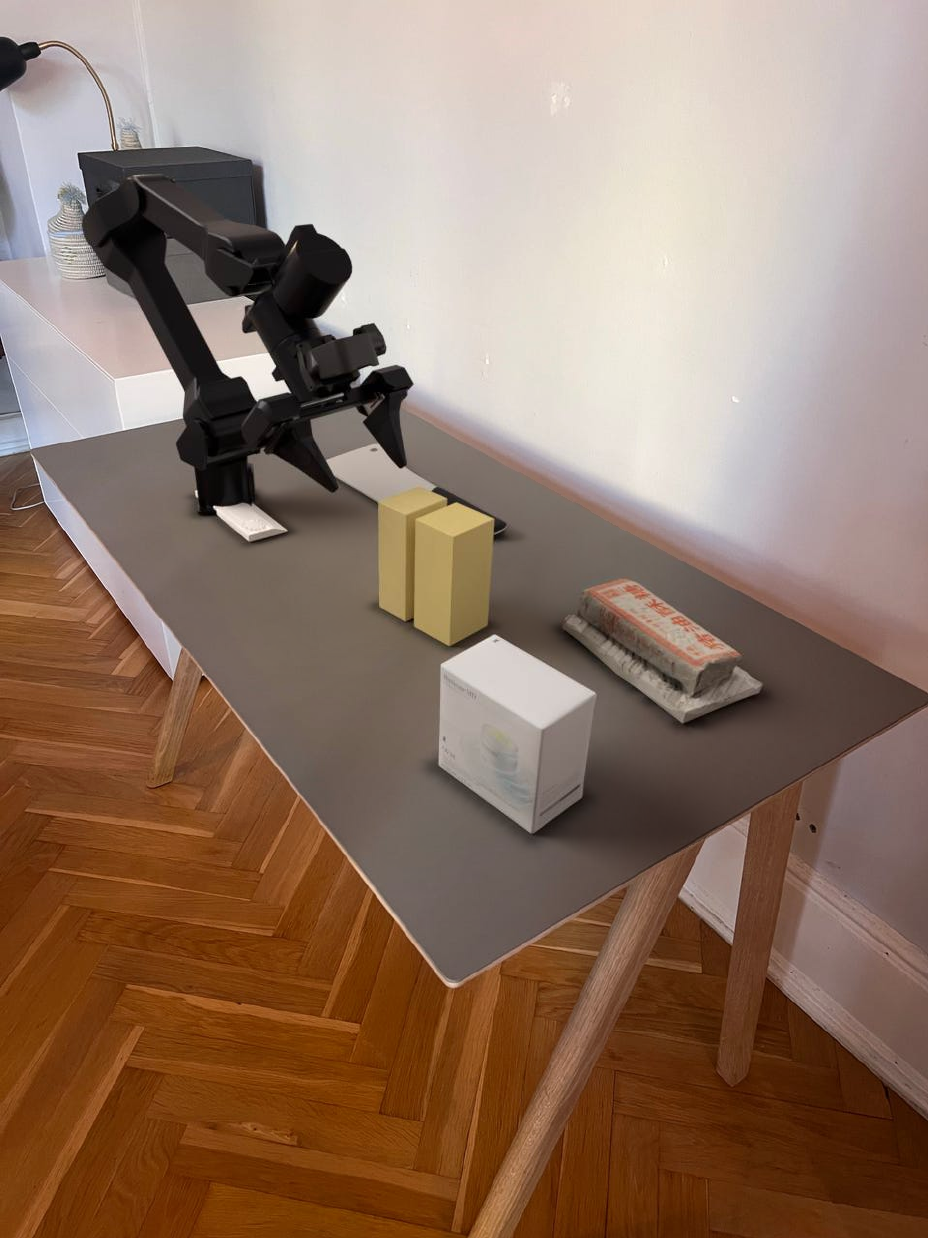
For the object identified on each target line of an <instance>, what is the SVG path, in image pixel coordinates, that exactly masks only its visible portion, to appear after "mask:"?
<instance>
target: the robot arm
mask: <svg viewBox="0 0 928 1238" xmlns="http://www.w3.org/2000/svg"><path fill="white" fill-rule="evenodd" d="M81 228H82V233H83V237H84V239H85V241H86V243H87V244H88V245H89V247H91V249H92V251H93V252H94V254H95V255H96V257H97V258H98V260H99V262H100V263H101V264H102V266H103V268H105V269H106V270H108V271H109V272H111V273H112V274H113V275H116V277H118V278H119V279H120V280H122V281H124V282H125V283H127V285H128V287H129V288H130V290H131V292H132V294H133V295H134V297H135V300H136V301H137V304H138V306H139V307H140V309H141V311H142V313H143V315H144V317H145V320H146V321H147V322H148V324H149V327H150V328H151V330H152V332H153V335H154V336H155V338H156V340H157V342H158V343H159V346H160V347H161V349H162V351H163V353H164V355H165V357H166V359H167V361H168V362H169V365H170V366H171V369H172V370H173V372H174V375H175V377H176V378H177V380H178V382H179V384H180V385H181V387H182V390H183V392H184V397H183V406H182V419H183V421H184V424H185V428H184V429H183V431H182V432H181V434H180V436H178V439H177V440H176V442H175V446H176V450H177V453H178V457H179V460H180V461H181V462H183V463H186V464H187V465H189V466H191V467H193V469H194V476H195V484H196V485H195V486H196V490H197V494H198V498H197V500H198V502H197V508H196V512H197V514H198V515H217V513H216V512H217V511H216V510H215V509H214V508H213V506H219V507H221V506H222V507H225V506H233V505H237V504H240V503H246V504H249V505H250V506H251V507H252V503H255V502H256V496H257V491H256V480H255V478H256V477H255V467H254V464H253V463H252V462H249V457H250V456H253V455H260V454H261V451H262V449H263V453H264V454H265V455H266V456H267V455H268V456H270V455H274V456H276V457H278V458H279V459H281V460H283V461H284V462H286V463H288V464H289V465H291V466H293V467H294V468H296V469H297V470H299V471H300V472H302V473H303V474H305V475H306V476H308V477H309V478H310V479H311V480H313V481H314V482H316V483H317V484H318V485H319V486H321V487H322V488H324V489H325V490H327V491H328V492H330V493H331V494H335V493H336V492H337V491H338V490H339V484H338V482H337V481H338V480H337V478H336V477H335V476H334V474H333V472H332V470H331V469H330V467H329V465H328V463H327V462H326V460H327V459H326V457H324V453H322V451H321V449H320V447H319V446H318V444H317V441H315V438H314V434H313V428H312V421H313V420H316V419H318V418H323V417H326V416H329V415H333V414H336V413H340V412H343V411H346V410H351V409H354V408H356V410H357V412H358V413H359V414H361V415H363V416H365V418H364V420H363V421H362V424H363V426H365V428H366V430H368V432H369V433H370V434H371V436H372V437H373V439H374V440H375V441H376V442H377V444H379V445H380V446H381V447H382V449H383V450H384V451H385V452H386V454H387V455H388V456H389V458H390V459H391V460H392V461H393V462H394V463H395V464H396V465H397V467H398V468H400V469H401V468H404V467H406V466H407V464H408V460H407V456H406V455H407V454H406V448H405V444H404V438H403V433H402V427H401V415H400V414H401V413H400V412H401V406H402V402H403V401H404V400H405V399H406V398H407V397H408V393H409V392H408V391H409V390H410V389H411V388H412V387H413V386H414V385H415V384H414V381H413V380H412V378H411V376H410V373H408V371H407V369H406V367H405V366H401V365H398V364H393V365H389V366H386V367H385V366H384V367H382V368H381V367H380V368H377V369H373V370H372V371H371V372H370V373H369V374H368V375H367V376H366V378H365V379H364V380H363V381H362V382H361V383H360V385H359V386H355V387H352V385H351V384H352V383H355V382H357V380H358V379H359V378H360V377H361V376H362V374H361V372H360V370H362V369H365V368H369V367H377V366H379V365H380V361H379V358H378V357H380V356H383V355H385V354H386V353H387V350H388V349H387V348H388V347H387V344H386V341H385V337H384V335H383V334H382V332H381V331H380V329H379V328H378V326H377V325H376V324H375V322H371V323H367V324H362V325H360V326H359V327H355V328H353V330H352V335H350V336H349V335H348V336H345V337H341V338H336V337H335V336H334V335H333V334H332V333H329V334H325V335H324V334H323V333H322V331H321V329H320V328H319V326H318V324H317V323H316V321H315V319H318V318H320V317H322V316H323V315H324V314H325V313H326V312H327V311H328V309H329V308H330V306H331V304H333V302H334V301H335V299H336V298H337V297H338V295H339V294H340V292H341V290H342V289H343V288H344V287H345V285H346V283H348V282H349V280H350V278H351V276H352V274H353V264H352V259H351V257H350V255H349V253H348V251H347V250H346V249H345V248H343V247H342V246H341V245H340V244H338V243H337V242H336V241H335V240H334V239H333V238H330V237H329V236H327V235H324V234H323V233H319V232H318V231H317V229H316V228H315V226H314V224H313V223H306V224H305V223H304V224H296V225H294V227H293V229H292V230H291V231H290V234H289V237H288V240H287V242H286V243H285V241H284V240H283V239H282V237H281V236H280V235H279V234H278V233H277V232H275V231H273V230H270V229H267V228H265V227H261V226H258V225H255V224H248V223H242V222H236V221H232V220H230V219H228V218H226V217H224V216H223V215H222V214H220V213H219V212H217V211H216V210H214V209H213V208H211V207H210V206H208V205H207V204H205V203H204V202H202V201H201V200H199V199H197V198H196V197H195V196H193V195H192V194H190V193H189V192H187V191H185V190H184V189H183V188H181V187H180V186H178V185H177V184H176V181H174V179H173V178H171V176H168V175H165V174H162V173H151V174H137V175H135V174H134V175H130V176H129V177H128V178H125V179H124V180H123V181H122V182H121V183H120V185H119V186H118V187H117V188H114V190H111V191H110V192H107V193H106V194H104V195H103V196H101V197H99V198H97V199H96V200H94V201H93V203H91V204H90V205H89V206H88V207H87V211H86V212H85V214H84V215H83V216H82V219H81ZM167 235H168V236H169V237H171V238H172V239H173V240H175V241H177V242H178V243H179V244H181V245H182V246H184V247H185V248H186V249H188V250H189V251H191V252H192V253H193V254H195V255H196V256H197V257H199V258H200V259H201V261H203V265H204V274H205V275H206V277H207V278H208V279H210V281H212V283H213V284H215V286H216V287H217V288H218V289H219V290H220V291H221V292H222V293H223V294H224V295H226V296H228V297H230V298H234V297H240V296H241V297H242V296H246V295H247V296H248V295H253V294H258V295H257V296H256V298H255V299H254V301H253V302H252V303H251V304H247V305H245V306H244V315H243V318H242V321H241V331H242V333H243V334H250V333H257V335H258V337H259V339H260V341H261V342H262V344H263V346H264V348H265V349H266V351H267V353H268V355H269V357H270V358H271V360H272V362H273V364H274V365H275V368H274V369H273V370H272V371H271V376H272V377H273V379H274V381H275V382H276V383H278V382H281V381H283V382H284V383H285V385H286V387H287V388H288V391H289V392H288V391H287V392H283V393H278V394H274V395H271V396H267V397H263V398H259V399H258V400H257V399H256V398H255V397H254V395H253V393H252V391H251V389H250V386H249V383H248V381H246V379H245V378H244V377H243V376H241V375H239V376H235V377H230V376H229V375H227V374H226V373H224V372H223V371H222V369H221V368H220V365H219V364H218V361H217V359H216V358H215V355H213V352H212V350H211V348H210V346H209V344H208V343H207V341H206V339H205V337H204V335H203V333H202V331H201V329H200V327H199V325H198V324H197V321H196V319H195V317H194V316H193V313H192V312H191V311H190V308H189V306H188V304H187V302H186V300H185V299H184V296H183V295H182V293H181V291H180V289H179V287H178V286H177V283H176V281H175V280H174V278H173V275H172V274H171V272H170V270H169V268H168V266H167V264H166V258H167V248H168V236H167ZM311 420H312V421H311Z"/></svg>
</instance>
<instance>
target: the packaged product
mask: <svg viewBox="0 0 928 1238" xmlns="http://www.w3.org/2000/svg"><path fill="white" fill-rule="evenodd" d="M579 600H580V603H579V606H578V609H577V612H576V613H574V614H567V616H566V617H565V618H564V621H563V625H562V629H563V630H564V631H565V632H567V633H568V634H569V635H571V636H572V637H573V638H574V639H576V640H577V641H578V642H580V643H581V644H582V645H583V646H585V648H587V649H588V650H589V651H590V652H591V653H592V654H593V655H594V656H595V657H597V658H598V659H599V660H601V662H602V663H604V664H605V665H606V666H607V667H608V668H609V669H610V670H611V671H612V672H613V673H614V674H615V675H617V676H618V677H620V678H622V679H623V680H624V681H626V682H628V683H629V684H631V685H632V686H633V687H635V688H636V689H638V690H639V691H640V692H641V693H643V694H644V695H645V696H647V697H648V698H649V699H650V700H651V701H652V702H654V703H656V704H657V705H658V706H659V707H661V709H663V710H664V711H666V712H667V713H668V714H670V715H671V716H672V717H673V718H675V720H677V721H679V723H681V724H685V723H687V722H690V721H692V720H695V719H696V718H699V717H701V716H704V715H707V714H709V713H711V712H713V711H716V710H718V709H720V708H723V707H726V706H728V705H731V704H734V703H735V702H738V701H741V700H743V699H746V698H748V697H752V696H754V695H758V694H759V693H760V692H761V689H762V687H763V684H764V683H763V682H761V681H759V680H757V679H756V678H754V677H752V676H751V674H749V672H747V671H746V670H744V669H742V668H741V667H738V666H739V664H740V663H741V662H742V661H743V658H744V657H743V656H742V654H740V653H739V652H738V651H737V650H735V649H734V648H732V647H731V646H730V645H728V644H726V643H725V642H724V641H722V640H721V639H720V638H719V637H716V636H715V635H713V634H712V633H711V632H710V631H708V630H706V629H705V628H703V626H701V625H699V624H698V623H696V622H694V620H692V619H691V618H689V617H687V616H686V615H685V614H683V613H681V612H680V611H678V610H676V608H675V607H673V606H671V605H670V604H668V603H667V602H665V601H664V600H663V599H662V598H659V597H658V596H657V595H655V594H654V593H652V592H651V591H650V590H648V589H647V588H645V587H644V586H643V585H642V584H640V583H639V582H636V581H634V580H632V579H625V578H618V579H616V580H612V581H610V582H606V583H601V584H598V585H595V586H592V587H590V588H586V589H584V590H582V591H581V595H580V597H579Z"/></svg>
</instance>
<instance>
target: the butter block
mask: <svg viewBox="0 0 928 1238" xmlns="http://www.w3.org/2000/svg"><path fill="white" fill-rule="evenodd" d="M493 533H494V519H493V518H491V517H489V516H487V515H484V514H482V513H480V512H477V511H475V510H473V509H471V508H468V507H466V506H464V505H461V504H459V503H457V502H456V503H454V504H451V505H449V506H446V507H444V508H441V509H439V510H436V511H434V512H432V513H429V514H427V515H424V516H422V517H419V518H417V519H416V524H415V594H414V618H413V627H414V628H416V629H417V630H420V631H421V632H423V633H425V634H426V635H428V636H430V637H431V638H433V639H435V640H437V641H438V642H441V643H443V644H444V645H446V646H448V647H452V646H453V645H455V644H456V643H458V642H460V641H462V640H464V639H466V638H468V637H469V636H471V635H473V634H475V633H477V632H479V631H481V630H482V629H484V628H487V627H488V625H489V624H488V623H489V611H490V609H489V608H490V595H491V593H490V592H491V579H492V565H493V564H492V561H493V547H494V538H493Z"/></svg>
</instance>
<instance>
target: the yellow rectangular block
mask: <svg viewBox="0 0 928 1238" xmlns="http://www.w3.org/2000/svg"><path fill="white" fill-rule="evenodd" d="M377 506H378V507H377V511H378V515H377V516H378V517H377V518H378V519H377V520H378V523H377V524H378V607H379V608H380V609H382V610H384V611H386V612H387V613H389V614H391V615H393V616H395V617H396V618H398V619H400V620H402V621H404V622H408V621H409V620H412V619H414V594H415V524H416V519H417V518H419V517H422V516H424V515H427V514H429V513H432V512H434V511H436V510H439V509H441V508H444V507H446V506H447V498H445V497H443V496H440V495H438V494H436V493H434V492H431V491H429V490H427V489H424V488H422V487H420V486H418V487H416V488H413V489H410V490H408V491H405V492H403V493H400V494H397V495H395V496H392V497H389V498H387V499H384V500H381V501H379V502H377Z"/></svg>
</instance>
